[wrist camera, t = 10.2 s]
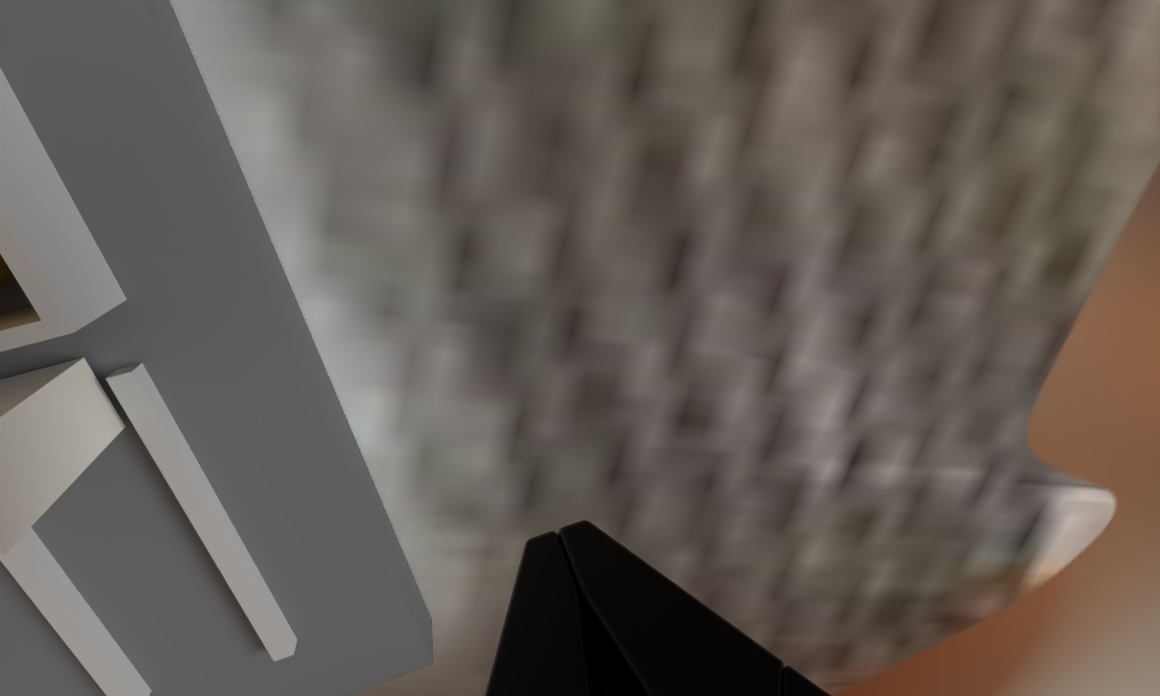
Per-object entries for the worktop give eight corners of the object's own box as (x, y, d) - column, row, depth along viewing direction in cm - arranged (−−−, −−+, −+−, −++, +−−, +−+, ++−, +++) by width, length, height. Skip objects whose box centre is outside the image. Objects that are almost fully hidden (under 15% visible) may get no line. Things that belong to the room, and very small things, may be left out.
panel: (431, 620, 23) (435, 730, 18) (92, 742, 21) (13, 894, 17) (21, -350, 12) (-186, -596, 8) (-761, -276, 10) (-1575, -550, 6)
